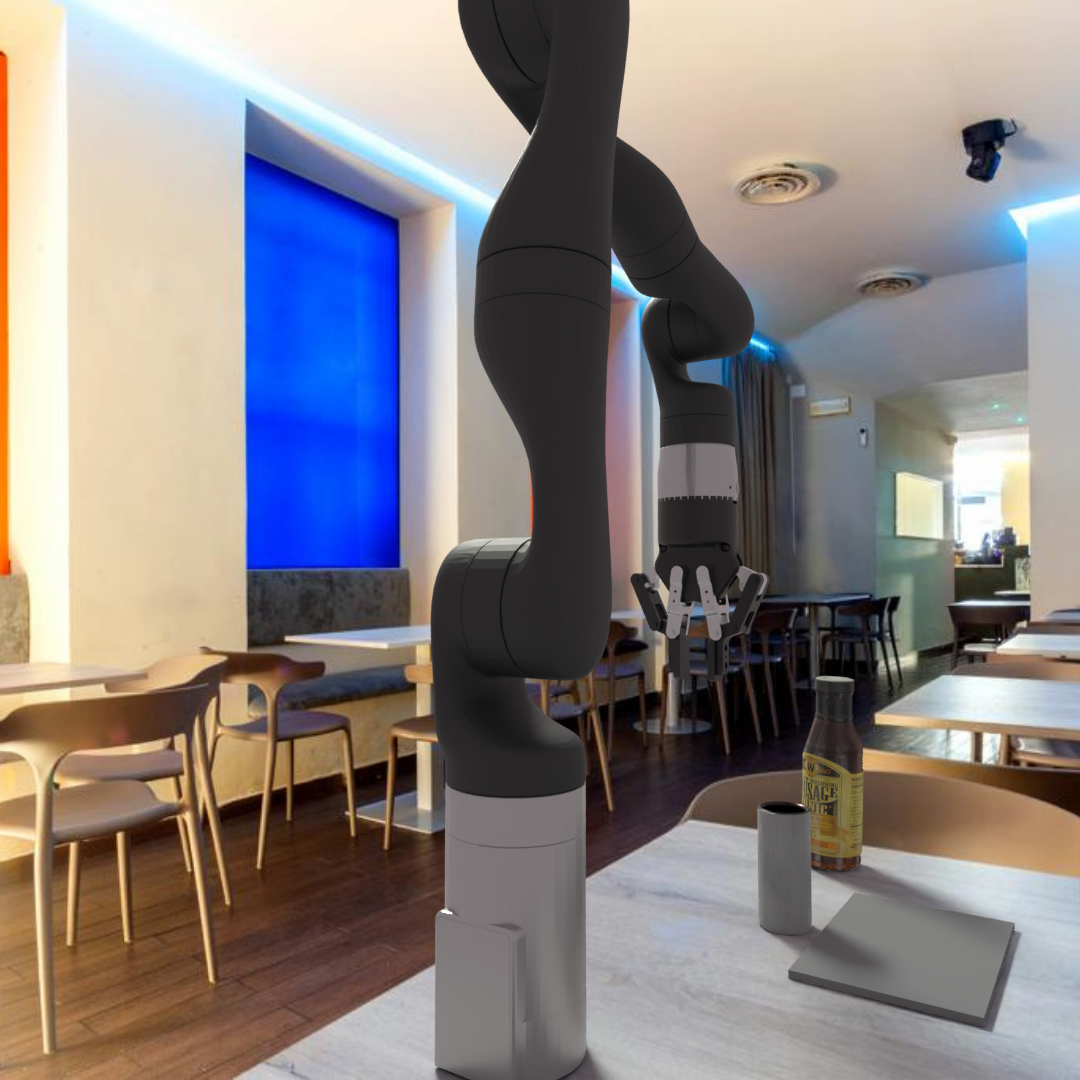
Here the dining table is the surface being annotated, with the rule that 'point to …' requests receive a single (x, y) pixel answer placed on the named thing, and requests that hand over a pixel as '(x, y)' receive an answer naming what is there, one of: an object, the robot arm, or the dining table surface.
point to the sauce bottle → (834, 778)
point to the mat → (910, 957)
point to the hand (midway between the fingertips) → (698, 678)
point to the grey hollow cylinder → (784, 867)
